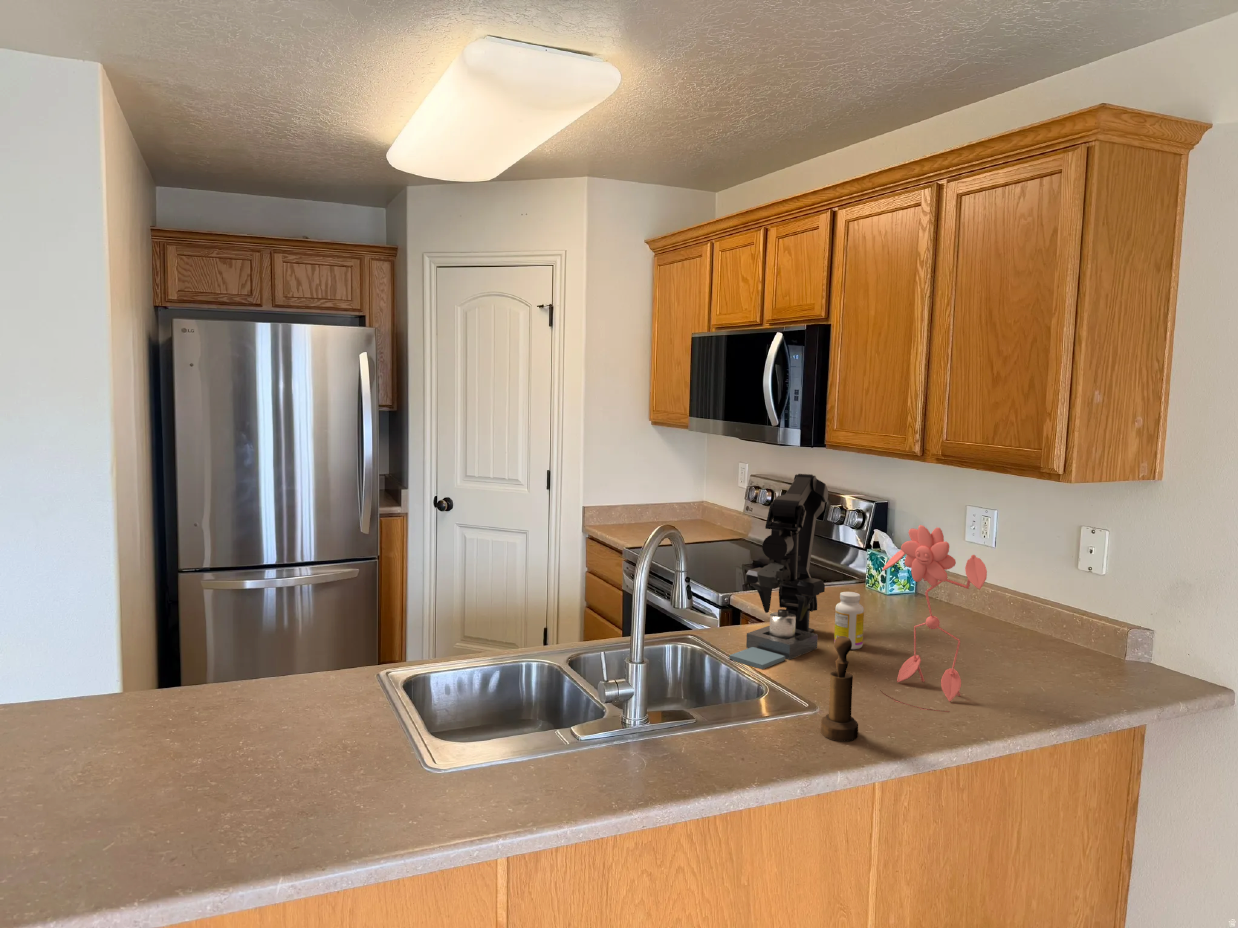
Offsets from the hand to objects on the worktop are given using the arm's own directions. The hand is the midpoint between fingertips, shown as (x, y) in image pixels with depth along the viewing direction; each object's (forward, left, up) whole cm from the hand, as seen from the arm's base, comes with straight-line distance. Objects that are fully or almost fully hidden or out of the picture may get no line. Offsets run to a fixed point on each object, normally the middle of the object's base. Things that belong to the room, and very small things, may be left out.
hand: (783, 616), depth 200 cm
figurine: (+5, +36, -8) cm, 37 cm away
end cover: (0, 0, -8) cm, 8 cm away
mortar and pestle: (+35, +35, -8) cm, 50 cm away
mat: (+12, +1, -8) cm, 14 cm away
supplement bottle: (-13, +10, -8) cm, 19 cm away
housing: (0, 0, -8) cm, 8 cm away
